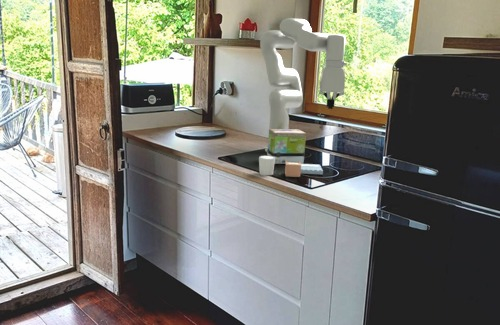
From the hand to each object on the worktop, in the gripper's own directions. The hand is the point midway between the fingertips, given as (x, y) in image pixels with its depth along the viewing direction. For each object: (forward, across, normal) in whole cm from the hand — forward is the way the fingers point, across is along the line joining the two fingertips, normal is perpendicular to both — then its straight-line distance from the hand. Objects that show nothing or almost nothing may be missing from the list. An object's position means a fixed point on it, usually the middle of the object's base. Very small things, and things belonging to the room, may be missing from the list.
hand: (330, 108), depth 196 cm
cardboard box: (+27, +15, +12) cm, 33 cm away
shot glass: (+27, +26, +11) cm, 39 cm away
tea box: (+27, +17, -11) cm, 34 cm away
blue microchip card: (+27, +9, +3) cm, 29 cm away
